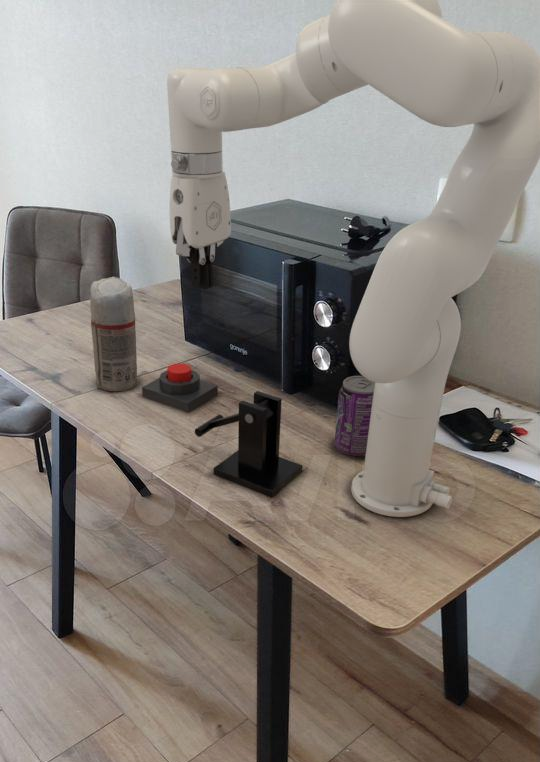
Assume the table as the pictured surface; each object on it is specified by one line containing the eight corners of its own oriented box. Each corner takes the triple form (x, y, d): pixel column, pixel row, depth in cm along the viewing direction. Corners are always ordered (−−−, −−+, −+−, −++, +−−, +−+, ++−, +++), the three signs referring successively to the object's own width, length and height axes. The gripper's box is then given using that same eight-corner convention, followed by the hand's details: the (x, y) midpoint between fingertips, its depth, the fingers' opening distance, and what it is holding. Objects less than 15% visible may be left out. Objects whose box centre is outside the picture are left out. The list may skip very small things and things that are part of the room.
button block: (217, 394, 134) (217, 375, 132) (188, 412, 128) (187, 392, 125) (172, 380, 139) (172, 361, 137) (142, 396, 132) (140, 377, 130)
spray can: (144, 376, 140) (137, 276, 129) (134, 394, 133) (125, 290, 122) (103, 372, 140) (92, 273, 129) (90, 390, 134) (78, 287, 123)
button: (196, 377, 132) (195, 367, 131) (181, 385, 129) (181, 375, 128) (177, 371, 134) (177, 361, 133) (162, 379, 131) (162, 369, 129)
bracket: (213, 474, 111) (212, 401, 104) (245, 450, 117) (246, 380, 110) (272, 497, 106) (275, 422, 99) (302, 471, 112) (307, 399, 105)
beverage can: (344, 433, 123) (351, 370, 116) (382, 445, 120) (391, 381, 113) (326, 451, 118) (332, 386, 111) (365, 463, 115) (373, 397, 108)
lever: (198, 440, 111) (191, 426, 111) (220, 425, 115) (214, 412, 115) (259, 424, 103) (252, 409, 102) (280, 409, 107) (274, 394, 106)
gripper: (185, 173, 97) (191, 303, 107) (246, 160, 108) (247, 279, 117) (144, 168, 100) (153, 294, 110) (207, 156, 111) (211, 272, 121)
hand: (202, 286), depth 114 cm, fingers closed
